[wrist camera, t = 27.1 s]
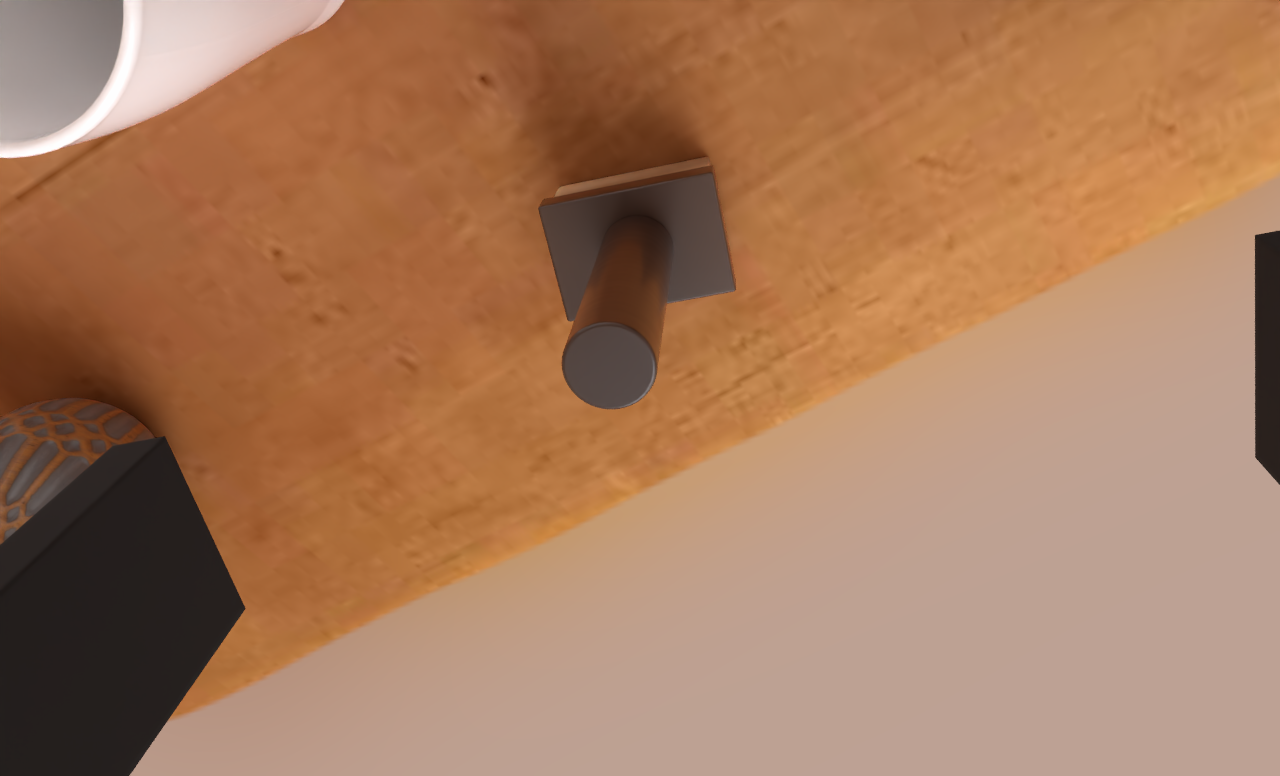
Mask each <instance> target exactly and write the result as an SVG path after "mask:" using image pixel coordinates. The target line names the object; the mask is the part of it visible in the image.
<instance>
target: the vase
mask: <svg viewBox="0 0 1280 776" xmlns="http://www.w3.org/2000/svg"><path fill="white" fill-rule="evenodd" d="M153 438H155V437H154V435H153V434H152V433H151V432H150V431H149V430H148V429H147V428H146V427H145V426H144V425H143V424H142V423H141V422H140V421H139V420H137V419H136V418H135V417H133V416H132V415H130V414H128V413H127V412H125V411H123V410H121V409H119V408H117V407H115V406H112V405H109V404H106V403H103V402H99V401H95V400H91V399H84V398H59V399H51V400H46V401H41V402H37V403H33V404H30V405H27V406H24V407H21V408H18V409H16V410H13V411H11V412H9V413H7V414H6V415H4V416H2V417H0V545H1V544H2V543H3V542H4V541H5V540H6V539H7V538H9V537H10V536H11V535H12V534H13V533H14V532H15V531H17V530H18V529H19V528H20V527H21V526H22V525H23V524H24V523H26V522H27V521H28V520H29V519H30V518H31V517H32V516H34V515H35V514H36V513H37V512H38V511H39V510H40V509H41V508H43V507H44V506H45V505H46V504H47V503H48V502H49V501H51V500H52V499H53V498H54V497H55V496H56V495H57V494H59V493H60V492H61V491H62V490H63V489H64V488H65V487H66V486H68V485H69V484H70V483H71V482H72V481H73V480H74V479H76V478H77V477H78V476H79V475H80V474H81V473H82V472H84V471H85V470H86V469H87V468H88V467H89V466H90V465H91V464H93V463H94V462H95V461H96V460H97V459H98V458H99V457H101V456H102V455H103V454H104V453H105V452H106V451H107V450H108V449H110V448H111V447H112V446H115V445H120V444H126V443H131V442H137V441H142V440H147V439H153Z"/></svg>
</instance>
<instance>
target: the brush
mask: <svg viewBox="0 0 1280 776" xmlns="http://www.w3.org/2000/svg"><path fill="white" fill-rule="evenodd" d="M538 210H539V214H540V217H541V221H542V225H543V229H544V233H545V236H546V240H547V244H548V248H549V252H550V255H551V259H552V263H553V267H554V270H555V274H556V278H557V282H558V286H559V289H560V293H561V297H562V301H563V305H564V308H565V312H566V316H567V320H568V321H574V323H573V326H572V329H571V332H570V334H569V337H568V340H567V343H566V346H565V349H564V351H563V356H562V370H563V375H564V378H565V380H566V382H567V384H568V386H569V387H570V389H571V390H572V391H573V392H574V394H575V395H577V396H578V397H579V398H580V399H581V400H583V401H584V402H586V403H588V404H590V405H592V406H595V407H598V408H603V409H620V408H624V407H627V406H630V405H632V404H634V403H636V402H638V401H639V400H641V399H642V398H643V397H644V396H645V395H646V394H647V393H648V392H649V391H650V389H651V388H652V386H653V384H654V382H655V379H656V375H657V368H658V361H659V354H660V347H661V340H662V333H663V326H664V318H665V311H666V304H668V303H673V302H679V301H684V300H690V299H695V298H701V297H706V296H711V295H717V294H722V293H728V292H733V291H735V290H736V279H735V274H734V269H733V263H732V258H731V253H730V248H729V243H728V238H727V232H726V227H725V222H724V217H723V212H722V206H721V201H720V196H719V191H718V186H717V180H716V175H715V170H714V167H713V166H712V165H710V160H709V157H703V158H698V159H693V160H688V161H683V162H678V163H673V164H669V165H664V166H659V167H654V168H649V169H644V170H639V171H634V172H629V173H624V174H619V175H615V176H610V177H605V178H600V179H595V180H590V181H585V182H580V183H575V184H570V185H566V186H561V187H559V188H558V190H557V192H556V194H555V195H554V197H552V198H547V199H544V200H543V201H542V202H541V204H540V206H539V208H538Z"/></svg>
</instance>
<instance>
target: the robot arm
mask: <svg viewBox="0 0 1280 776" xmlns="http://www.w3.org/2000/svg"><path fill="white" fill-rule="evenodd" d="M1255 416H1256V417H1255V420H1256V421H1255V433H1256V434H1255V444H1256V445H1255V452H1256V453H1255V455H1256V456H1255V457H1256V459H1257V460H1258V461H1259V462H1260V463H1261V464H1262V465H1263V467H1264V468H1265V469H1266V470H1267V471H1268V472H1269V473H1270V474H1271V476H1272V477H1273V478H1274V479H1275V480H1276V481H1277V482H1278V483H1279V484H1280V231H1275V232H1269V233H1264V234H1259V235H1255ZM244 610H245V606H244V604H243V602H242V600H241V598H240V596H239V594H238V592H237V589H236V587H235V585H234V583H233V581H232V579H231V577H230V574H229V572H228V570H227V568H226V566H225V564H224V562H223V560H222V557H221V555H220V553H219V551H218V549H217V547H216V545H215V542H214V540H213V538H212V536H211V534H210V532H209V530H208V528H207V525H206V523H205V521H204V519H203V517H202V515H201V513H200V510H199V508H198V506H197V504H196V502H195V500H194V498H193V496H192V493H191V491H190V489H189V487H188V485H187V483H186V481H185V478H184V476H183V474H182V472H181V470H180V468H179V466H178V464H177V461H176V459H175V457H174V455H173V453H172V451H171V449H170V446H169V444H168V442H167V440H166V438H165V436H164V437H158V438H153V439H147V440H142V441H137V442H131V443H126V444H120V445H115V446H112V447H111V448H110V449H108V450H107V451H106V452H105V453H104V454H103V455H102V456H101V457H99V458H98V459H97V460H96V461H95V462H94V463H93V464H91V465H90V466H89V467H88V468H87V469H86V470H85V471H84V472H82V473H81V474H80V475H79V476H78V477H77V478H76V479H74V480H73V481H72V482H71V483H70V484H69V485H68V486H66V487H65V488H64V489H63V490H62V491H61V492H60V493H59V494H57V495H56V496H55V497H54V498H53V499H52V500H51V501H49V502H48V503H47V504H46V505H45V506H44V507H43V508H41V509H40V510H39V511H38V512H37V513H36V514H35V515H34V516H32V517H31V518H30V519H29V520H28V521H27V522H26V523H24V524H23V525H22V526H21V527H20V528H19V529H18V530H17V531H15V532H14V533H13V534H12V535H11V536H10V537H9V538H7V539H6V540H5V541H4V542H3V543H2V544H1V545H0V776H129V775H130V774H131V772H132V771H133V770H134V768H135V767H136V765H137V764H138V762H139V761H140V760H141V758H142V757H143V755H144V754H145V752H146V751H147V749H148V748H149V747H150V745H151V744H152V742H153V741H154V739H155V738H156V736H157V735H158V734H159V732H160V731H161V729H162V728H163V726H164V725H165V724H166V722H167V721H168V719H169V718H170V716H171V715H172V714H173V712H174V711H175V709H176V708H177V706H178V705H179V703H180V702H181V701H182V699H183V698H184V696H185V695H186V693H187V692H188V691H189V689H190V688H191V686H192V685H193V683H194V682H195V680H196V679H197V678H198V676H199V675H200V673H201V672H202V670H203V669H204V668H205V666H206V665H207V663H208V662H209V660H210V659H211V657H212V656H213V655H214V653H215V652H216V650H217V649H218V647H219V646H220V645H221V643H222V642H223V640H224V639H225V637H226V636H227V634H228V633H229V632H230V630H231V629H232V627H233V626H234V624H235V623H236V621H237V620H238V619H239V617H240V616H241V614H242V613H243V611H244Z"/></svg>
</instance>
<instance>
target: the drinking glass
mask: <svg viewBox="0 0 1280 776" xmlns="http://www.w3.org/2000/svg"><path fill="white" fill-rule="evenodd" d="M344 1H345V0H0V158H18V157H29V156H34V155H40V154H44V153H47V152H51V151H54V150H57V149H61V148H65V147H68V146H72V145H76V144H79V143H83V142H86V141H89V140H93V139H96V138H99V137H103V136H106V135H109V134H112V133H115V132H118V131H121V130H123V129H126V128H129V127H132V126H134V125H136V124H139V123H141V122H144V121H146V120H148V119H151V118H153V117H155V116H157V115H160V114H162V113H164V112H166V111H168V110H170V109H172V108H174V107H176V106H178V105H180V104H182V103H184V102H185V101H187V100H189V99H190V98H192V97H194V96H196V95H197V94H199V93H201V92H202V91H204V90H206V89H207V88H209V87H211V86H212V85H214V84H216V83H217V82H219V81H221V80H222V79H224V78H225V77H227V76H229V75H230V74H232V73H234V72H235V71H237V70H238V69H240V68H242V67H243V66H245V65H246V64H248V63H250V62H251V61H253V60H255V59H256V58H258V57H260V56H261V55H263V54H265V53H266V52H268V51H270V50H271V49H273V48H275V47H277V46H278V45H280V44H282V43H283V42H285V41H287V40H289V39H291V38H293V37H296V36H299V35H302V34H305V33H307V32H309V31H312V30H314V29H316V28H317V27H319V26H321V25H322V24H324V23H325V22H326V21H328V20H329V19H330V18H331V17H332V16H333V15H334V14H335V13H336V12H337V10H338V9H339V8H340V7H341V5H342V4H343V2H344Z"/></svg>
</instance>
